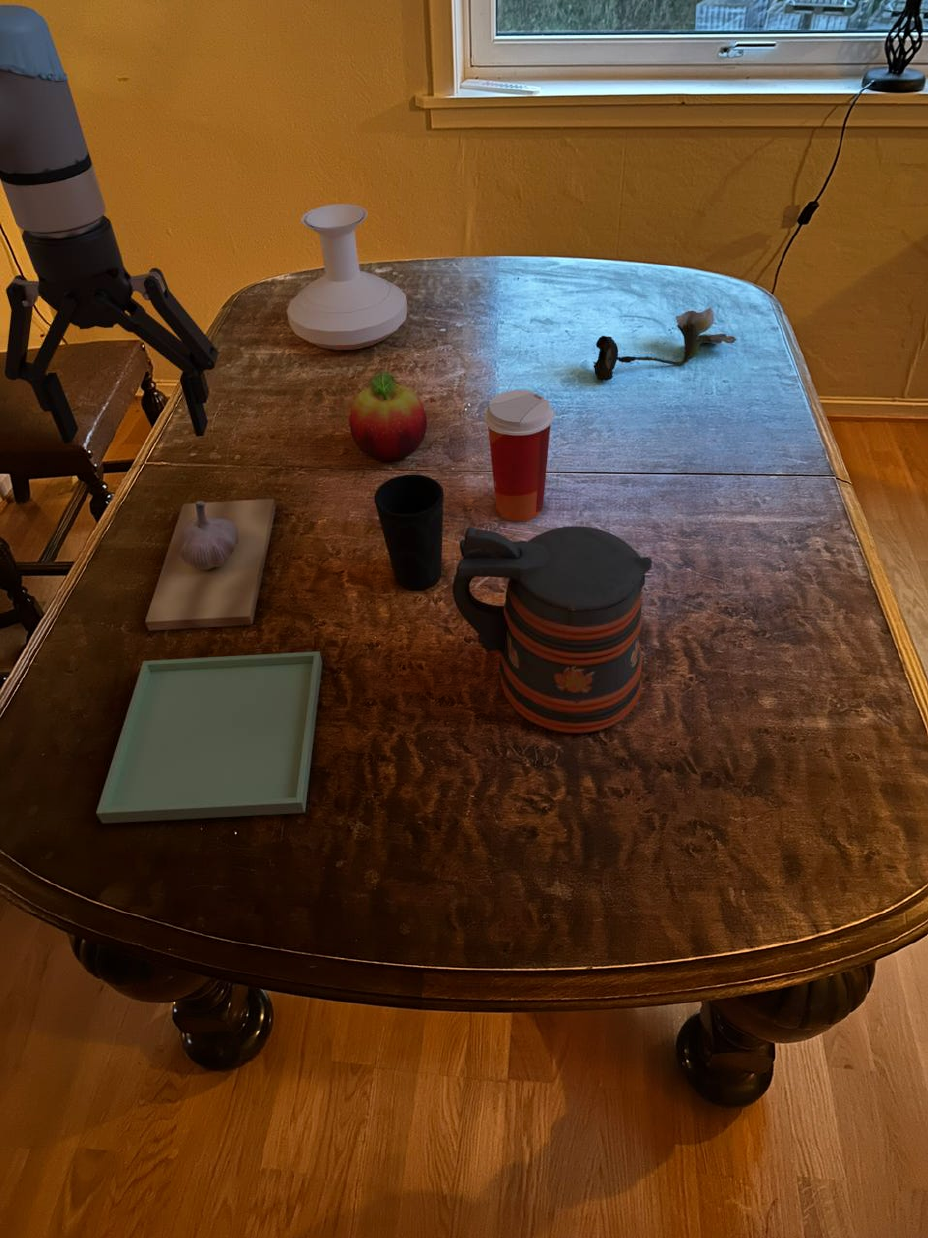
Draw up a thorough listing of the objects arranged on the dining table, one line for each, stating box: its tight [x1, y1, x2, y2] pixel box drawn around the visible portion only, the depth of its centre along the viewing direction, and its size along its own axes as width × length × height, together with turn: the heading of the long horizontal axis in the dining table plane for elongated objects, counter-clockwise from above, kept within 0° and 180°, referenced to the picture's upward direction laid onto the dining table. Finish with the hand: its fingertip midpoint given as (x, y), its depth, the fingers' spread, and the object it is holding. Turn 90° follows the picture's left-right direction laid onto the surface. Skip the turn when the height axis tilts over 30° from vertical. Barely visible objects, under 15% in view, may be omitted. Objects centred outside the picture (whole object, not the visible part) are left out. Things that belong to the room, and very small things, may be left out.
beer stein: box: [452, 525, 653, 734], centre depth 86 cm, size 19×15×20 cm
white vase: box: [286, 203, 408, 351], centre depth 144 cm, size 20×20×19 cm
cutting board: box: [144, 498, 277, 632], centre depth 109 cm, size 12×22×2 cm, turn 2°
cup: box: [373, 473, 445, 592], centre depth 102 cm, size 8×8×12 cm
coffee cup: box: [484, 389, 555, 522], centre depth 109 cm, size 8×8×15 cm
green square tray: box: [95, 651, 323, 824], centre depth 89 cm, size 19×19×2 cm
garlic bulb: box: [180, 500, 238, 570], centre depth 105 cm, size 8×7×8 cm
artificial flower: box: [592, 306, 738, 382], centre depth 136 cm, size 9×22×10 cm, turn 106°
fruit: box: [348, 370, 428, 462], centre depth 122 cm, size 11×11×10 cm
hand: (136, 432), depth 92 cm, fingers open, 13 cm apart
